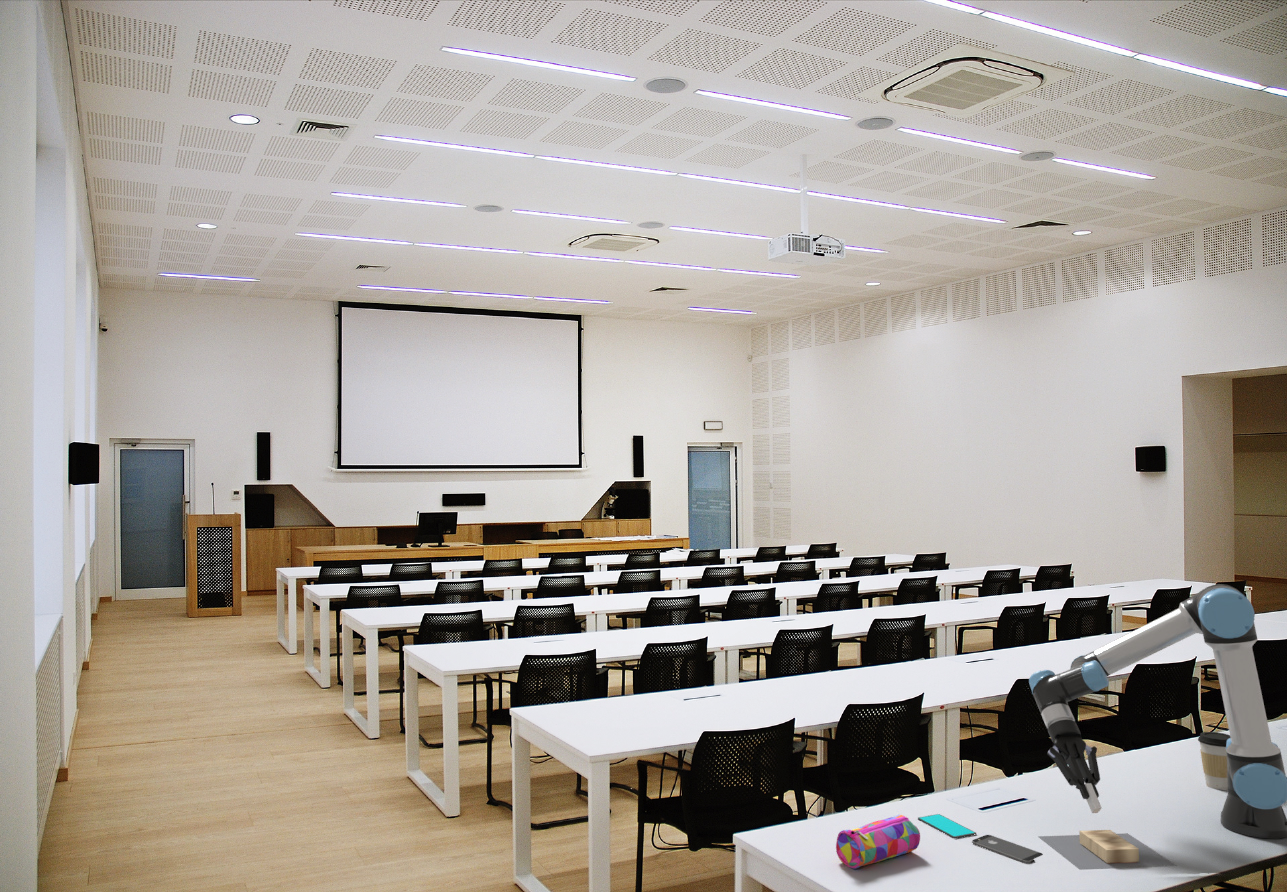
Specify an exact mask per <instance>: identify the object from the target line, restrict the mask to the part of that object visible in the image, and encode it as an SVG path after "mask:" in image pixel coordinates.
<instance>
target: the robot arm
mask: <svg viewBox="0 0 1287 892" xmlns="http://www.w3.org/2000/svg"><path fill="white" fill-rule="evenodd" d="M1255 616H1256V615H1255V610H1254V607H1253V605H1252V603H1251V601H1250V599H1248V597H1246V595H1244V594H1243V593H1242V592H1241V591H1240V590H1238V588H1235V587H1234V586H1232V585H1228V584H1222V583H1221V584H1220V583H1217V584H1212V585H1209V586H1206V587H1205V588H1203V589H1201V590H1200V591H1199V592H1197V593H1196V594H1194V595H1192V596H1190V597H1189V598H1187V599H1185V600H1183V601H1181V602H1180V603H1179V606H1178V608H1176V609H1174V610H1172V611H1170V612H1168V613H1166V614H1164V615H1163V616H1161V617H1158V618H1157V619H1154V620H1153V621H1150V622H1148V623H1147V624H1144V625H1143V626H1140V627H1139V628H1135V629H1134V630H1133V631H1131V632H1128V633H1127V634H1125V635H1122V636H1120V637H1118V638H1117V639H1115V640H1113V641H1110V642H1109V643H1107V644H1105V645H1102V646H1100V647H1099V648H1097V649H1095V650H1093V651H1091V652H1088V653H1087V654H1084V655H1080V656H1077V657H1076V658H1075V659H1073V661H1071V664H1070V669H1067V670H1065V671H1063V672H1061V673H1057V674H1055V672H1054V671H1052V670H1050V669H1044V670H1038V671H1035V672H1033V673H1032V674H1031V675H1030V677H1029V679H1028V683H1029V687H1030V689H1031V694H1032V696H1033V698H1034V700H1035V702H1036V706H1037V707H1038V708H1037V709H1039V712H1040V715H1041V717H1042V720H1043V722H1044V725H1045V727H1046V729H1047V732H1048V734H1049V737H1050V740H1051V741H1052V747H1050V748H1049V750H1048V751H1047V753H1046V755H1047V756H1048V757H1049V758H1051V759H1052V761H1054V763H1055V765H1056V767H1057V768H1058V769H1059V772H1060V773H1061V774H1062V775H1063V777H1064V779H1065V780H1066V782H1067V783H1068V785H1069V786H1071V787H1073V786H1075V789H1076V790H1079V792H1080V795H1081V796H1082V797H1081V798H1082V799H1083V800H1086V802H1087V804H1088V807H1089V810H1090V812H1091V814H1098V813H1099V812H1100V811H1101V809H1103V808H1102V806H1101V802H1100V800H1099V799H1098V798H1099V797H1100V793H1099V791H1098V789H1097V787H1096V786H1097V785H1098V783H1099V782H1100V781H1101V776H1100V769H1099V765H1098V758H1097V752H1098V747H1096V746H1095V745H1094V746H1092V747H1091V746H1089V745H1087V743H1086V742H1085V740H1084V739H1083V738H1082V734H1081V731H1080V729H1079V726H1078V725H1077V722H1076V719H1075V716H1074V715H1073V713H1072V710H1071V708H1070V706H1069V703H1068V702H1071V701H1073V700H1075V699H1078V698H1081V697H1083V696H1087V695H1089V694H1092V693H1095V692H1099V691H1100V690H1102V689H1105V688H1107V687H1108V686H1109V685H1110V681H1109V678H1108V677H1109V676H1111V675H1113V674H1115V673H1117V672H1119V671H1121V670H1123V669H1125V668H1127V667H1129V666H1131V665H1134V664H1135V663H1137V662H1140V661H1141V660H1144V659H1145V658H1148V657H1150V656H1152V655H1154V654H1156V653H1158V652H1161V651H1162V650H1164V649H1166V648H1168V647H1170V646H1174V644H1176V643H1179V642H1181V641H1184V640H1185V639H1186V638H1187V639H1188V638H1189V637H1191V636H1193V635H1196V634H1199V635H1202V636H1203V640H1204V641H1203V642H1204V644H1206V645H1207V646H1209V647H1210V648H1211V650H1212V652H1213V656H1214V657H1213V658H1214V661H1215V662H1214V663H1215V667H1216V671H1217V676H1218V677H1217V678H1218V681H1219V682H1218V683H1219V685H1220V686H1219V687H1220V691H1221V696H1222V701H1223V707H1224V711H1225V712H1224V713H1225V716H1226V722H1227V725H1228V732H1229V735H1230V737H1231V738H1229V739H1228V740H1227V744H1226V751H1227V786H1228V790H1227V795H1226V798H1225V801H1224V804H1223V808H1222V811H1221V813H1220V824H1221V826H1223V827H1224V828H1226V829H1228V830H1230V831H1232V832H1235V833H1238V834H1240V835H1243V836H1249V837H1254V838H1259V839H1271V840H1273V839H1275V840H1276V839H1284V838H1287V816H1286V814H1285V811H1284V809H1283V805H1284V804H1285V803H1286V802H1287V775H1286V769H1285V766H1284V760H1283V755H1282V752H1281V748H1280V747H1279V746H1278V744H1277V743H1275V742H1272V738H1271V732H1270V729H1269V728H1270V727H1269V723H1268V718H1267V713H1266V708H1265V705H1264V699H1263V695H1262V694H1263V693H1262V689H1261V685H1260V679H1259V674H1258V670H1257V666H1256V661H1255V655H1254V651H1253V646H1254V644H1256V642H1257V641H1258V636H1257V630H1256V625H1255ZM1084 753H1086V755H1087V760H1086V756H1085V754H1084ZM1087 761H1088V763H1087Z"/></svg>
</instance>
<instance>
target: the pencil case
mask: <svg viewBox="0 0 1287 892" xmlns="http://www.w3.org/2000/svg"><path fill="white" fill-rule="evenodd" d="M920 842H921V832H920V829H919V828H918V827H917V825H915V824H914V823H913V822H912V821H911V820H910V819H909V817H907V816H905V815H903V814H898V815H894V816H891V817H888V818H885V819H879V820H875V821H873V822H872V821H871V822H870V823H867V824H865V825H863V826H860V827H857V828H853V829H844V830H843V829H842V830H841V831H839V833H838V835H837V837H836V844H835V849H836V851H835V852H836V855H837V857H838V859H839V860H840V862H841V863H842V864H844V866H847V867H848V868H849V869H854V870H855V869H859V868H860V867H862V866H863V867H865V866H868V865H871V864H875V863H879V862H882V861H886V860H888V859H892V858H895V857H899V856H901V855H905V854H908V853H911V852H913V851H916V849H918V847H919V845H920Z"/></svg>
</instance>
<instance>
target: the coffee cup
mask: <svg viewBox="0 0 1287 892" xmlns="http://www.w3.org/2000/svg"><path fill="white" fill-rule="evenodd" d="M1229 738H1231V737H1230V734H1228V733H1224V732H1215V731H1202V732H1201V733H1200V735H1199V736H1198V738H1197V741H1198V743H1199V746H1200V751H1199V752H1200V756H1201V757H1200V758H1201V763H1202V764H1201V765H1202V770H1203V774H1204V779H1205V784H1206V786H1207V787H1208V788H1211V789H1214V790H1219V789H1220V790H1221V791H1228V786H1227V751H1226V744H1227V740H1228V739H1229Z"/></svg>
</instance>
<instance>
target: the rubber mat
mask: <svg viewBox="0 0 1287 892" xmlns="http://www.w3.org/2000/svg"><path fill="white" fill-rule="evenodd" d="M1116 834H1117V835H1119V836H1120V837H1122V838H1123V839H1125V840H1126V841H1128V842H1129V843H1131V844H1132V845H1134V846H1135V847H1137V848H1138V849H1139V862H1137V863H1110V864H1108V863H1106V862H1105V861H1104V860H1102V859H1101V858H1100V857H1098V856H1097V855H1096V854H1094V853H1093V852H1091V851H1090V850H1089V849H1087V848H1086V847H1085V846H1083V845H1082V844H1081V843H1080V834H1071V835H1070V834H1069V835H1067V834H1066V835H1065V834H1063V835H1043V836H1042V835H1040V836H1037V837H1038V838H1039V839H1041V841H1042V842H1044V843H1045V844H1046V845H1048V846H1049V847H1050V848H1052V849H1053V850H1054V851H1055V852H1057V853H1058V854H1059V855H1061V857H1063V858H1064V859H1066V860H1067V861H1068V862H1069V863H1070V864H1072V865H1073V866H1074V867H1076V868H1077V869H1079V870H1101V869H1103V870H1104V869H1105V870H1106V869H1124V868H1125V869H1131V868H1132V869H1133V868H1152V867H1153V868H1154V867H1155V868H1157V867H1158V868H1159V867H1160V868H1161V867H1178V864H1175V863H1174V862H1173V861H1171V860H1169V859H1168V858H1166V857H1165V856H1163V855H1161V854H1160V853H1159V852H1157V851H1156V850H1154V849H1152V848H1151V847H1149V846H1148V845H1146V844H1145V843H1143V842H1142V841H1140V840H1139V839H1137V838H1136V837H1134V836H1133V835H1131V834H1129V833H1126V832H1125V833H1116Z"/></svg>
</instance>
